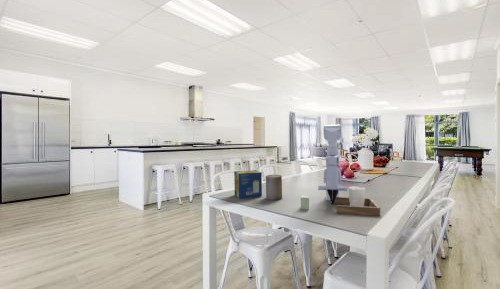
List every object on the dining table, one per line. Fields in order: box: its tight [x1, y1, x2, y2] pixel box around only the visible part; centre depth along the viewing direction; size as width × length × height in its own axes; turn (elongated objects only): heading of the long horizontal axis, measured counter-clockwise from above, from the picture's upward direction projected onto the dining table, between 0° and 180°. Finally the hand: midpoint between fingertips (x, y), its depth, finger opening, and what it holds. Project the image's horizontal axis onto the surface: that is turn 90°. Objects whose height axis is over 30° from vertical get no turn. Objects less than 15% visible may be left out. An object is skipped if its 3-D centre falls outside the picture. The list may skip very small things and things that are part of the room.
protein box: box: [233, 169, 263, 199], centre depth 158 cm, size 10×15×16 cm
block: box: [300, 195, 310, 210], centre depth 129 cm, size 4×4×6 cm
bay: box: [333, 196, 381, 216], centre depth 126 cm, size 19×19×4 cm
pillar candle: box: [265, 174, 283, 201], centre depth 151 cm, size 10×10×15 cm
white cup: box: [348, 186, 366, 207], centre depth 129 cm, size 8×8×10 cm
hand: (332, 203), depth 132 cm, fingers closed
